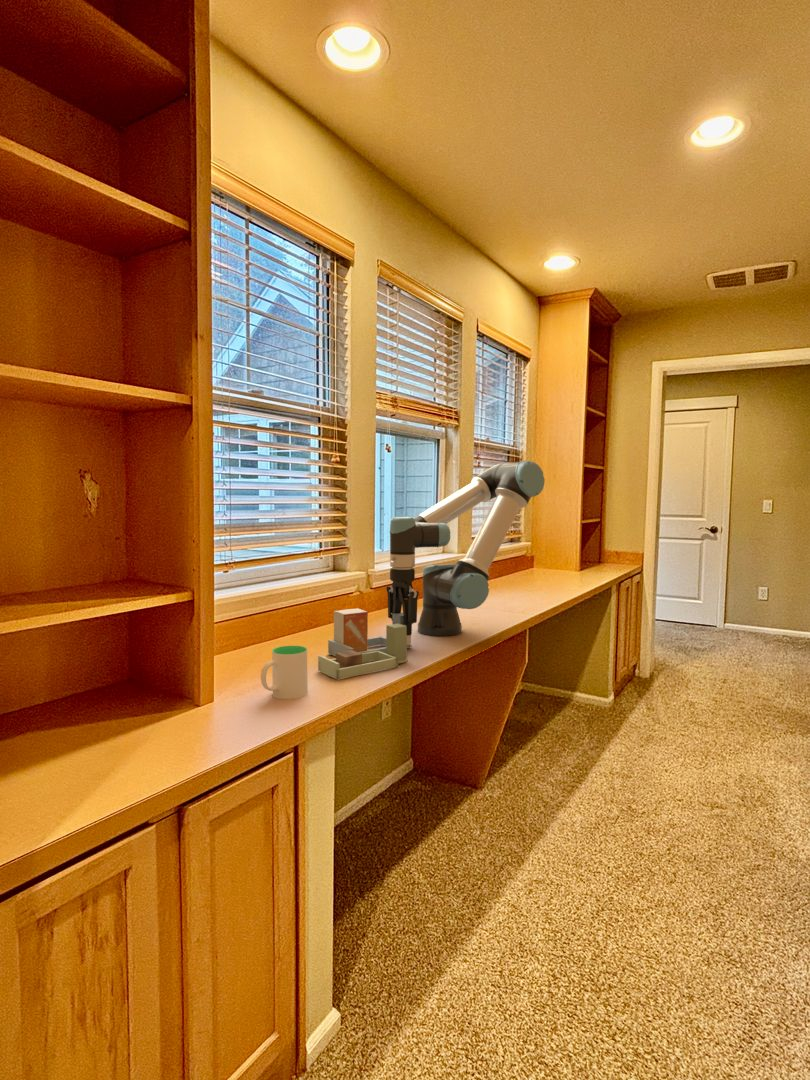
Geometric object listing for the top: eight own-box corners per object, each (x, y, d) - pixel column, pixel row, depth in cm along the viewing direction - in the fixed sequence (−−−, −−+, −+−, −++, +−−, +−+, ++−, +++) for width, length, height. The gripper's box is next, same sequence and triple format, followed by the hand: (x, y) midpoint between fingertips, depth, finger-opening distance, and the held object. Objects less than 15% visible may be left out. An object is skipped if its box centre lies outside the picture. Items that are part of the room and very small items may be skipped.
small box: (343, 659, 169) (343, 614, 168) (333, 654, 174) (333, 610, 174) (368, 655, 174) (368, 611, 173) (357, 650, 179) (357, 607, 178)
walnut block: (352, 668, 161) (351, 650, 161) (362, 672, 157) (362, 654, 157) (335, 671, 158) (335, 653, 158) (345, 676, 154) (345, 657, 154)
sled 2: (392, 656, 172) (392, 621, 171) (412, 663, 164) (413, 627, 163) (318, 670, 157) (318, 633, 157) (336, 679, 150) (336, 640, 149)
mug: (276, 706, 131) (275, 660, 131) (252, 699, 136) (251, 654, 135) (314, 692, 141) (314, 648, 140) (290, 685, 146) (290, 643, 145)
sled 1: (394, 641, 189) (394, 610, 188) (419, 649, 179) (419, 616, 178) (328, 653, 175) (328, 619, 174) (351, 663, 164) (351, 627, 164)
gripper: (376, 565, 186) (376, 640, 187) (409, 571, 172) (409, 651, 174) (395, 564, 190) (395, 636, 192) (429, 569, 177) (429, 647, 178)
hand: (401, 643), depth 183 cm, fingers closed on sled 1, 4 cm apart
